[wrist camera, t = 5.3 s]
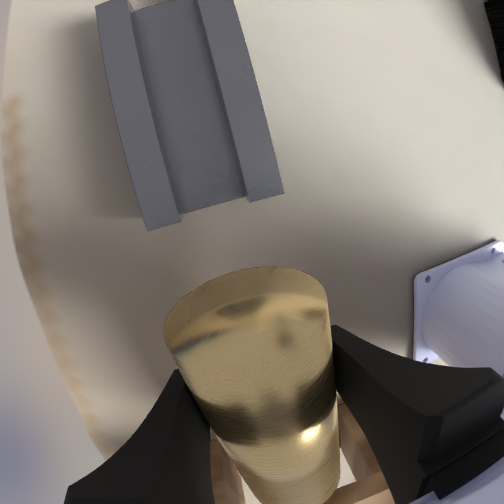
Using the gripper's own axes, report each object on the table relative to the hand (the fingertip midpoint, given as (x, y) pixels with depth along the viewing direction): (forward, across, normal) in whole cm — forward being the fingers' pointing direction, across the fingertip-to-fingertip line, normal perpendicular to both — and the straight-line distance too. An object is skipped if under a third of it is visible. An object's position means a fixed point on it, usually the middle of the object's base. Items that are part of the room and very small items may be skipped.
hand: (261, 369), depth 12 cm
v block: (+7, 0, -11) cm, 13 cm away
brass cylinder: (+2, 0, +2) cm, 3 cm away
